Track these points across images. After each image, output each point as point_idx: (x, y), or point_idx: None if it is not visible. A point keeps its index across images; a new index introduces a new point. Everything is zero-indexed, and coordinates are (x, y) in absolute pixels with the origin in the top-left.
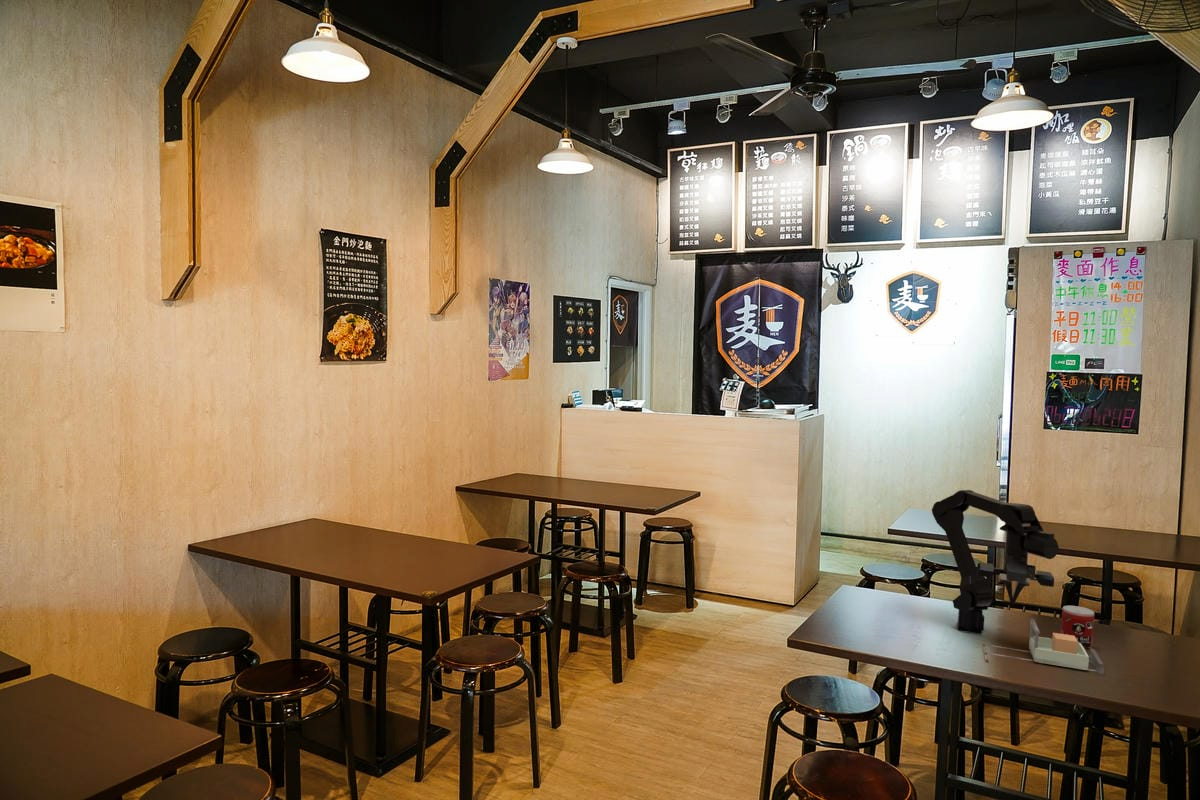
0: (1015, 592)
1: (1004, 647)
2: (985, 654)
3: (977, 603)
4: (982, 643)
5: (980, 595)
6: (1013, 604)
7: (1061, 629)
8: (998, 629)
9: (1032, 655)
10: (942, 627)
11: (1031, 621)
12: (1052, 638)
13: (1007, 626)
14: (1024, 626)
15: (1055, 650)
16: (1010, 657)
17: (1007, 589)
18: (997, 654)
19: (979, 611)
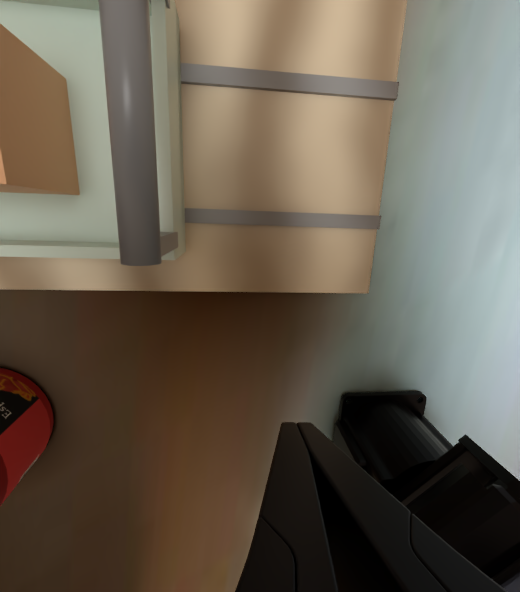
0: (320, 543)
1: (291, 222)
2: (392, 81)
3: (469, 476)
4: (373, 247)
5: (494, 549)
6: (285, 423)
7: (5, 466)
8: None
9: (180, 110)
10: (467, 403)
11: (148, 192)
12: (34, 180)
13: (234, 528)
14: (175, 557)
15: (38, 59)
16: (286, 72)
17: (472, 576)
18: (341, 89)
19: (393, 482)
